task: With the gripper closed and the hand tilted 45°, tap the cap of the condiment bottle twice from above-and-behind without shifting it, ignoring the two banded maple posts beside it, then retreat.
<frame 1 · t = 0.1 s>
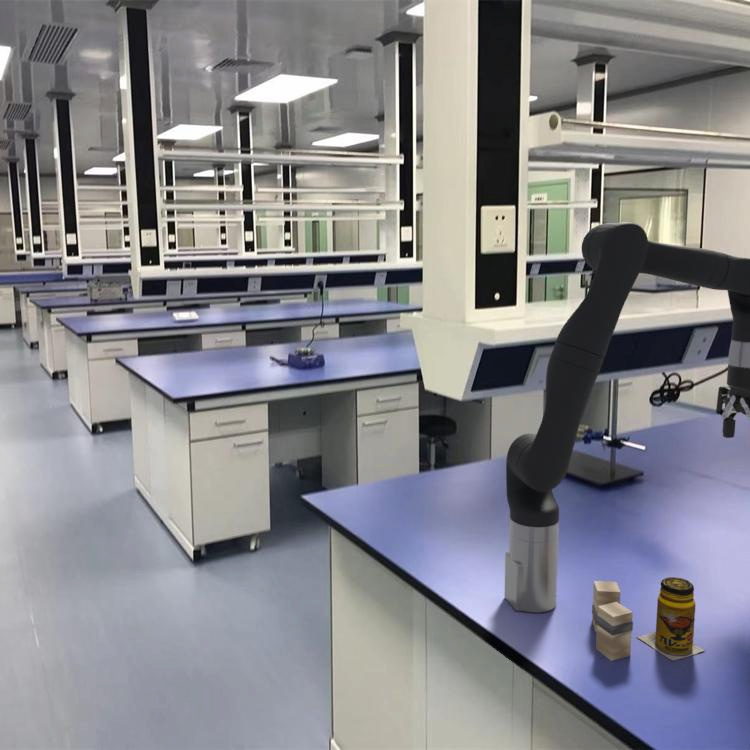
hand: (742, 442, 149), 29 cm above the lab bench, tool pointing down, fingers open, 8 cm apart
banded post a: (612, 652, 127), on the lab bench
banded post b: (605, 627, 135), on the lab bench
condiment: (670, 645, 129), on the lab bench
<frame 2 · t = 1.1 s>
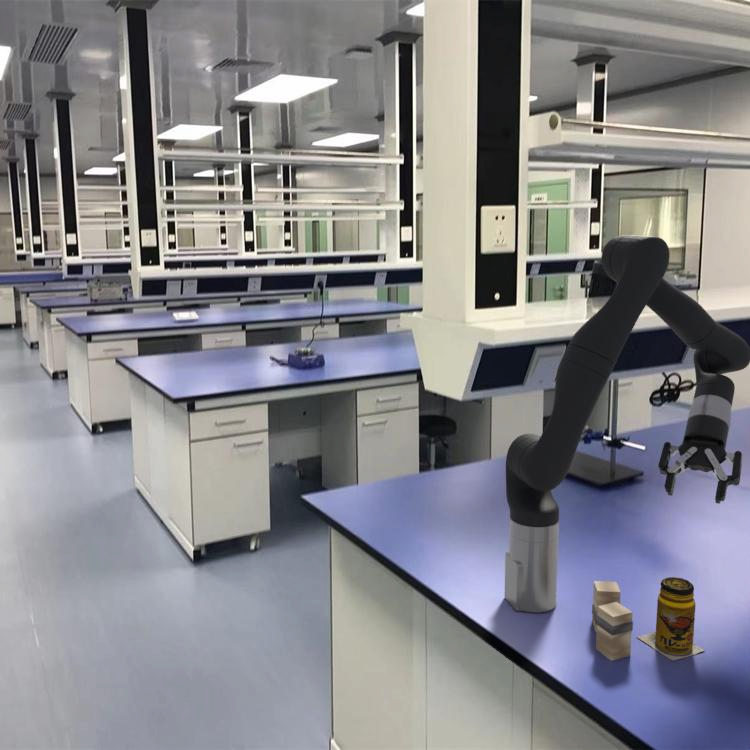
hand: (693, 497, 137), 23 cm above the lab bench, tool tilted 45°, fingers open, 8 cm apart
nothing on the lab bench moved.
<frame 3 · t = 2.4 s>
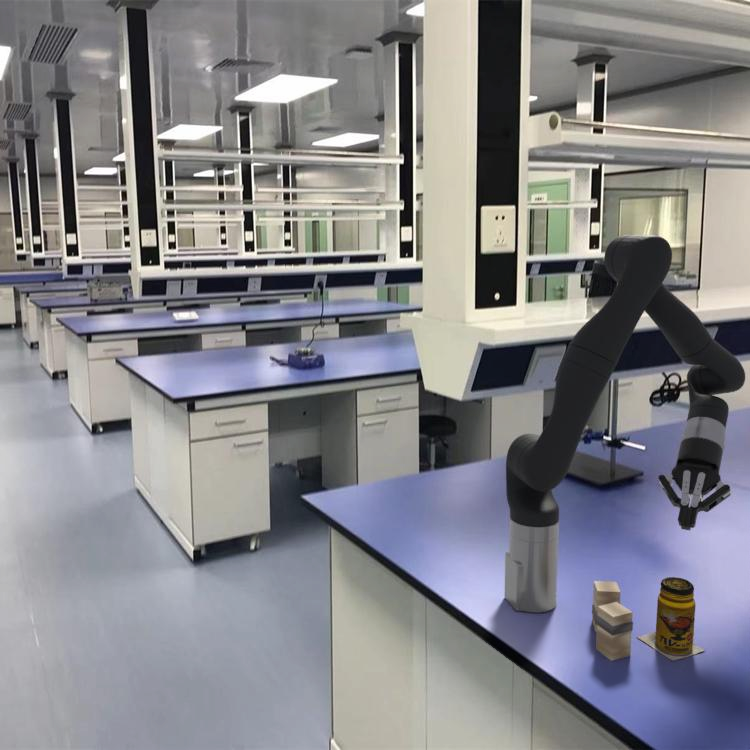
hand: (685, 527, 133), 19 cm above the lab bench, tool tilted 45°, fingers closed
nothing on the lab bench moved.
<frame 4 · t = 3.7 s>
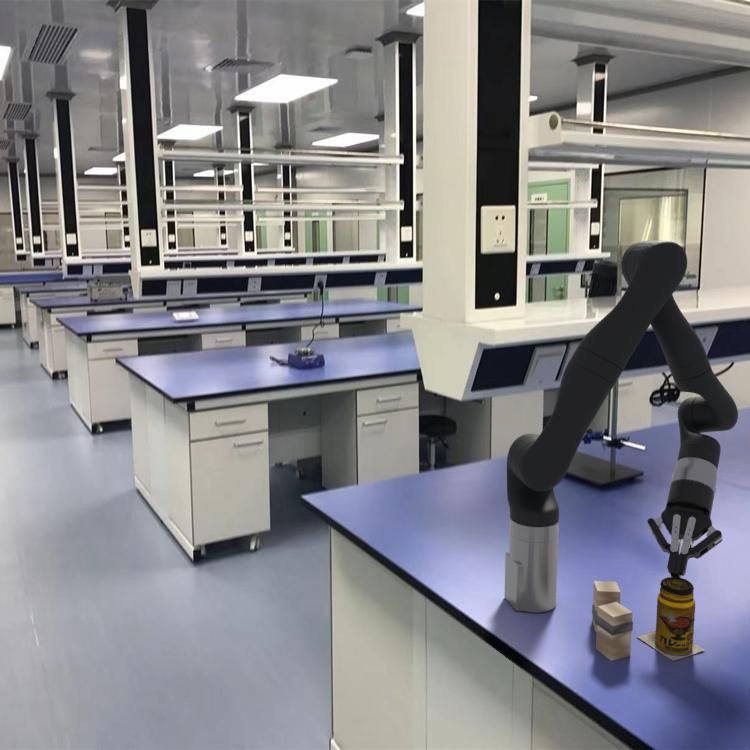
hand: (675, 575, 128), 13 cm above the lab bench, tool tilted 45°, fingers closed
condiment: (670, 645, 129), on the lab bench, touching gripper
everything else where it was.
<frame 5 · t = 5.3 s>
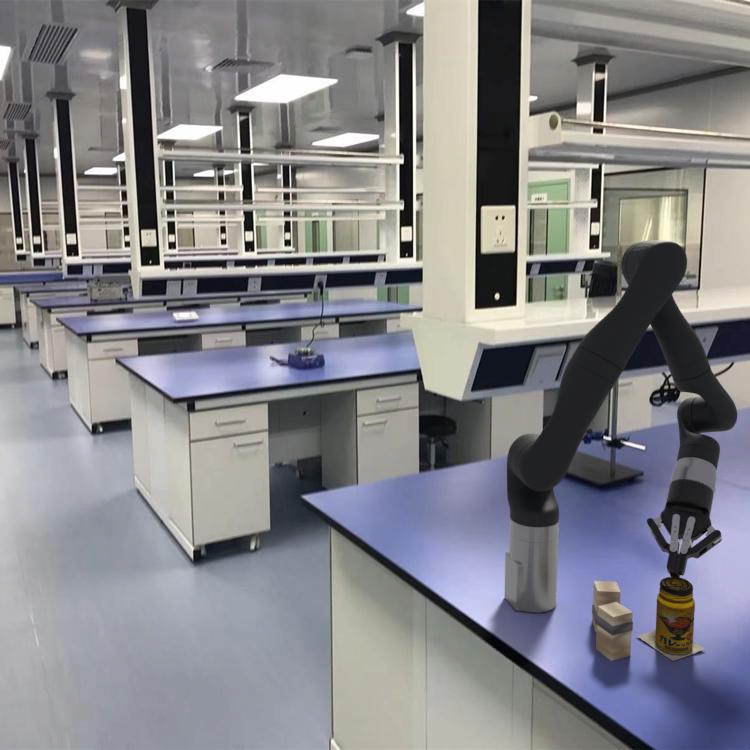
hand: (674, 575, 127), 13 cm above the lab bench, tool tilted 45°, fingers closed
nothing on the lab bench moved.
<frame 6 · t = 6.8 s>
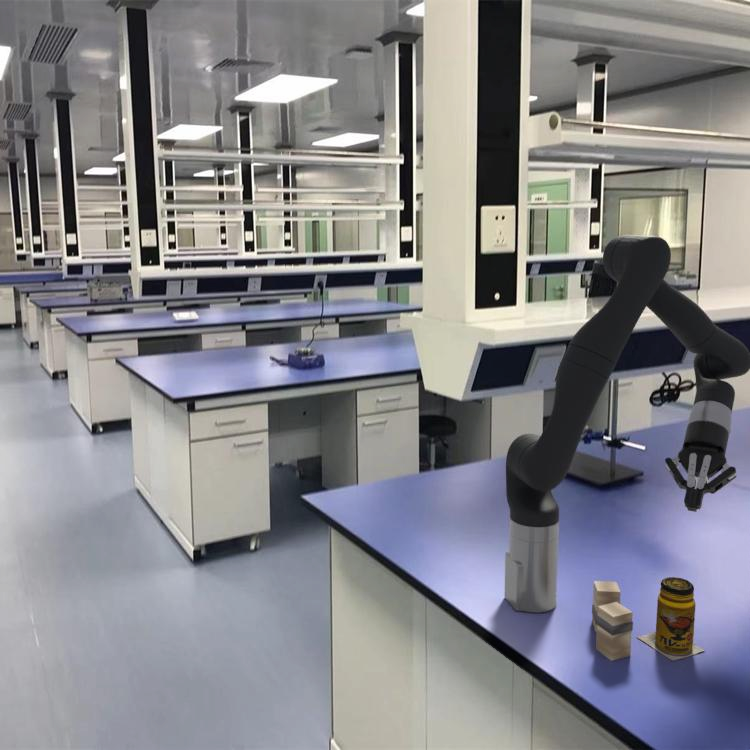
hand: (691, 509, 135), 21 cm above the lab bench, tool tilted 45°, fingers closed
condiment: (670, 645, 129), on the lab bench
everything else where it was.
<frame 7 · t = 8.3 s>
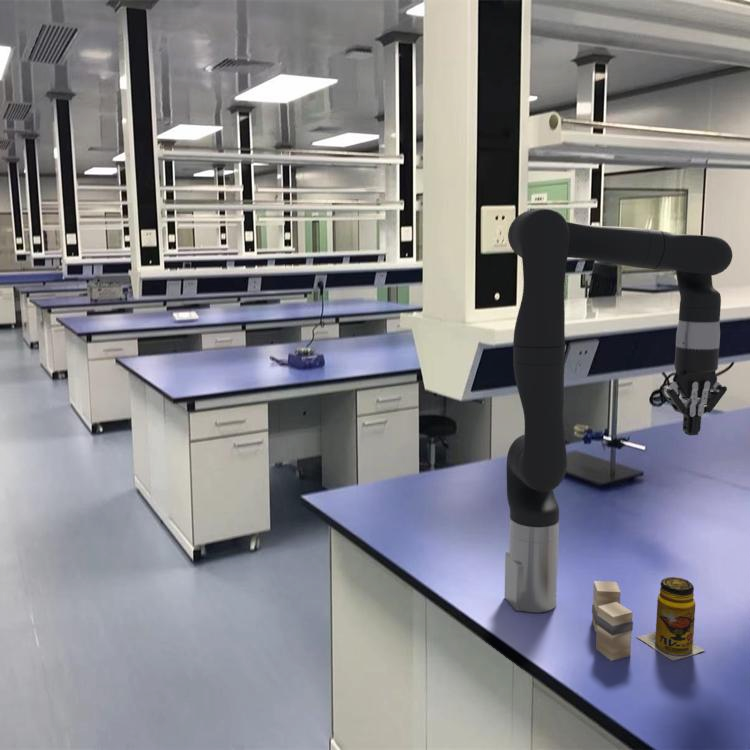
hand: (691, 434, 142), 33 cm above the lab bench, tool pointing down, fingers closed
nothing on the lab bench moved.
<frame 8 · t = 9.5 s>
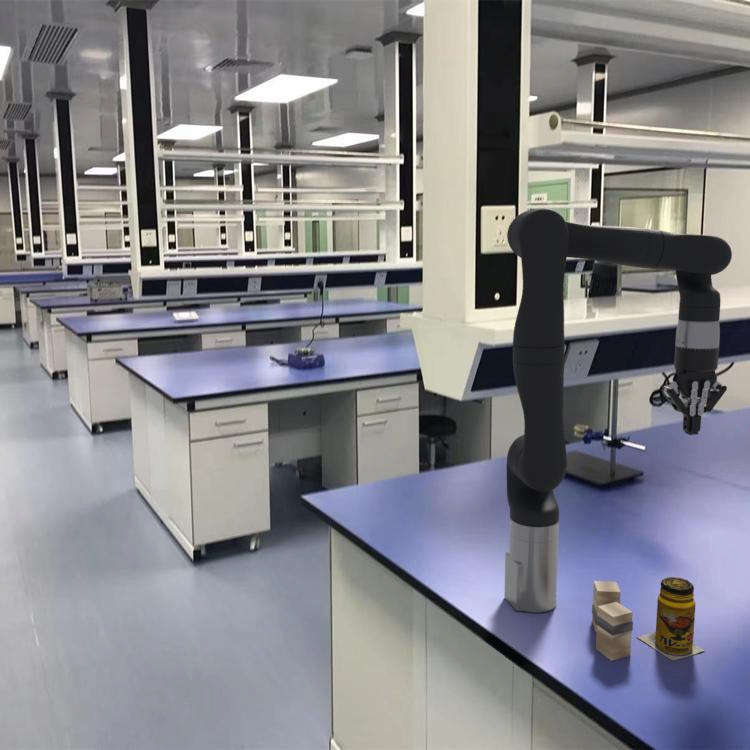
hand: (691, 433, 142), 33 cm above the lab bench, tool pointing down, fingers closed
nothing on the lab bench moved.
at the end: condiment moved 0.3 cm from its start; condiment tilted 0°; the gripper is holding nothing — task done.
